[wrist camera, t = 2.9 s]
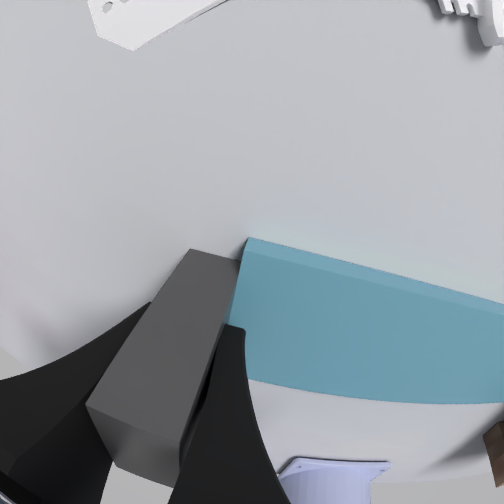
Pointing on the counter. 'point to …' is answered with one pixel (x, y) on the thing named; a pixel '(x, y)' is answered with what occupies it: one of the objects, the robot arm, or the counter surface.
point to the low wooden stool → (496, 451)
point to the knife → (195, 3)
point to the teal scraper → (290, 345)
